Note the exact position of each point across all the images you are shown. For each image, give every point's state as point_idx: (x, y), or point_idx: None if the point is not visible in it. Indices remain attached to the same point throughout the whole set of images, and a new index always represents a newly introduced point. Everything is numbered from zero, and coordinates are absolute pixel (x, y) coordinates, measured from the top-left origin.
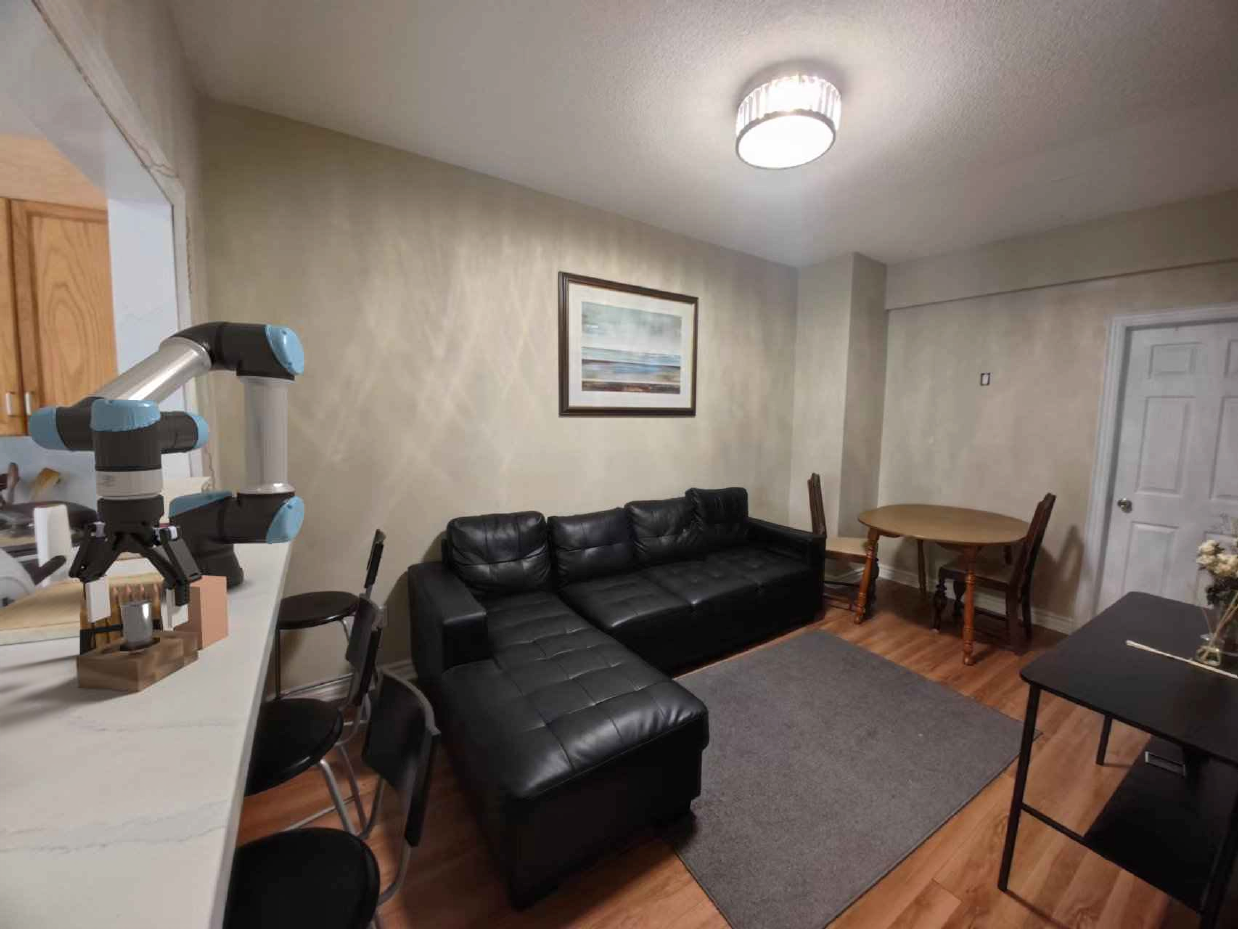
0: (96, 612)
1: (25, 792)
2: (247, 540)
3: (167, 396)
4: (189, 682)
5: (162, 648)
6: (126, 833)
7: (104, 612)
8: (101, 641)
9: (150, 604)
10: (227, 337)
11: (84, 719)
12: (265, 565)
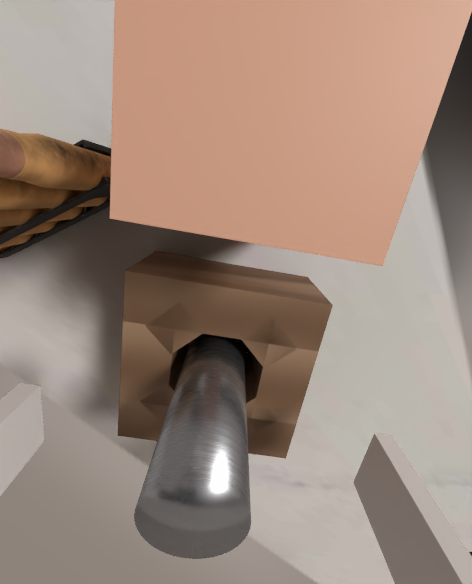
0: (15, 459)
1: (304, 564)
2: None
3: None
4: (349, 373)
5: (298, 401)
6: None
7: (23, 422)
8: (10, 244)
9: (247, 498)
10: None
11: (250, 463)
12: None
